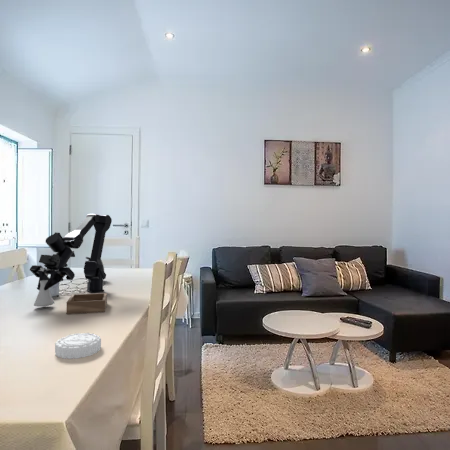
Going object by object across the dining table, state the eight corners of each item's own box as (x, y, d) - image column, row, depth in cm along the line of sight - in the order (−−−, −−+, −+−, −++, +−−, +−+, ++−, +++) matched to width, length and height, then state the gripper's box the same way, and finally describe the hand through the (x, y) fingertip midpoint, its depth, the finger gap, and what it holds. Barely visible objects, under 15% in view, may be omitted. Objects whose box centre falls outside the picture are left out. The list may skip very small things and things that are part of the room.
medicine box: (59, 295, 164) (59, 277, 164) (51, 297, 160) (52, 278, 159) (46, 293, 166) (46, 275, 166) (38, 295, 162) (39, 277, 162)
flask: (45, 307, 137) (45, 282, 136) (29, 306, 138) (29, 281, 138) (57, 303, 144) (57, 279, 143) (42, 302, 145) (42, 278, 145)
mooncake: (106, 343, 104) (106, 331, 104) (92, 359, 92) (92, 346, 92) (66, 343, 103) (66, 331, 103) (46, 359, 91) (46, 346, 91)
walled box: (72, 305, 146) (72, 294, 146) (106, 303, 150) (106, 292, 149) (66, 314, 132) (66, 302, 132) (104, 312, 136) (104, 300, 136)
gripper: (32, 246, 146) (10, 276, 136) (69, 248, 141) (49, 279, 131) (47, 262, 154) (27, 291, 144) (82, 264, 149) (64, 295, 139)
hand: (41, 289), depth 139 cm, fingers closed on flask, 3 cm apart
